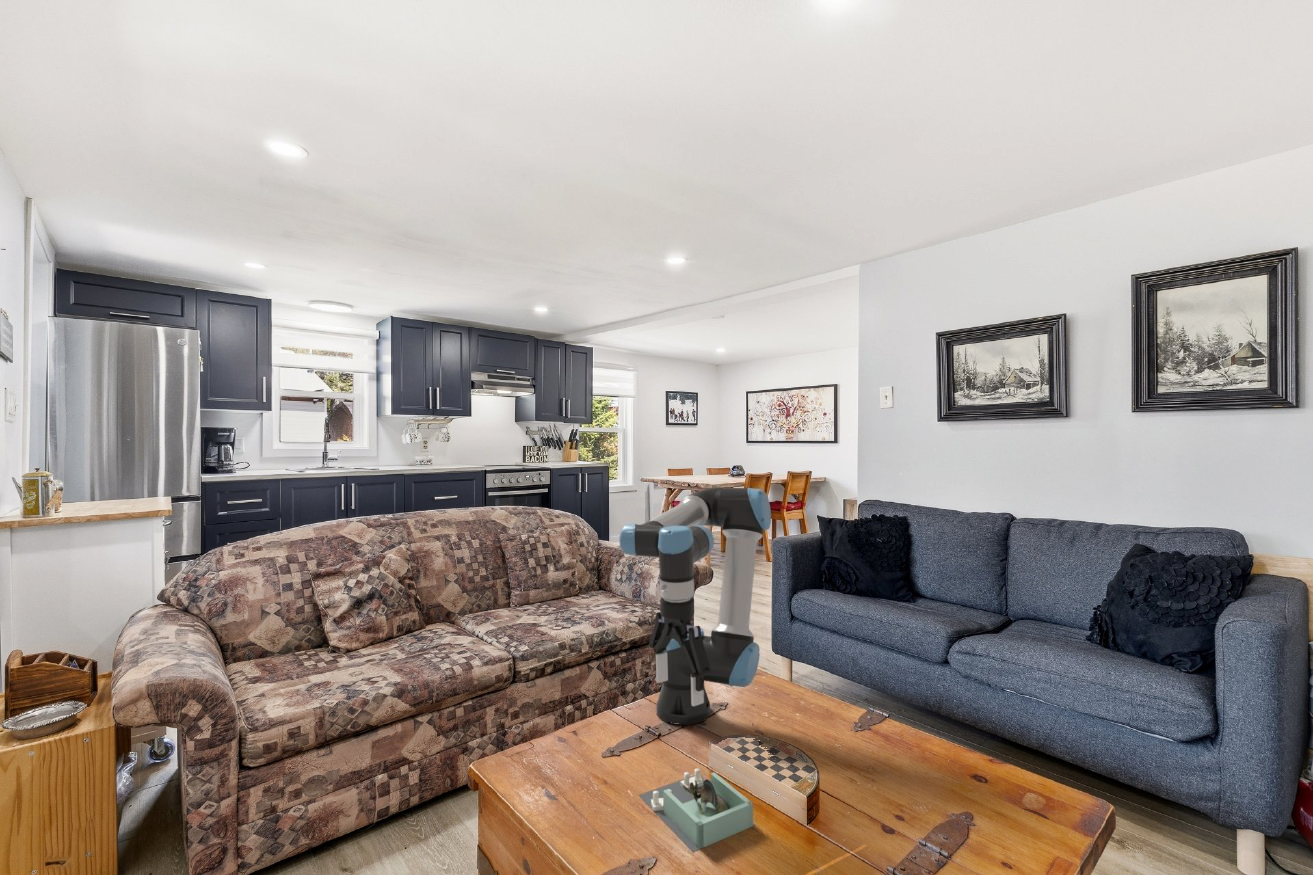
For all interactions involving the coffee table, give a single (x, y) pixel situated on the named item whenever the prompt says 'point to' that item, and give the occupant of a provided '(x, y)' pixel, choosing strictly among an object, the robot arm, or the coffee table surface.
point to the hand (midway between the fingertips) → (679, 692)
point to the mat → (683, 798)
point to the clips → (658, 802)
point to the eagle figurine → (707, 795)
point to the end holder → (710, 814)
